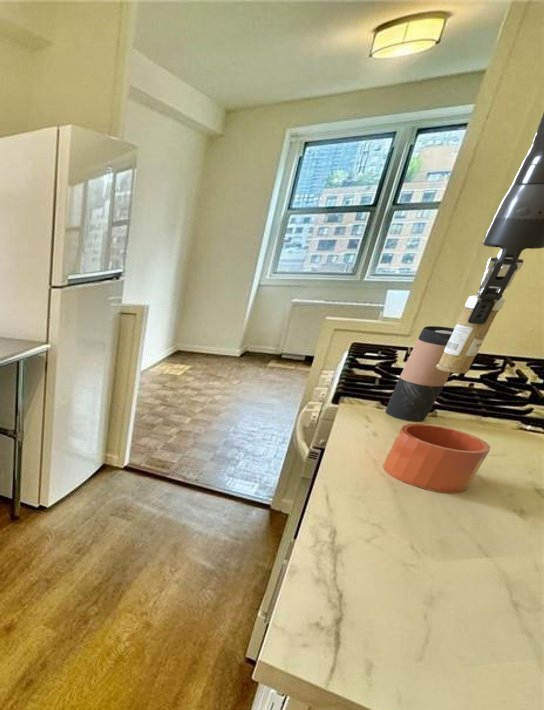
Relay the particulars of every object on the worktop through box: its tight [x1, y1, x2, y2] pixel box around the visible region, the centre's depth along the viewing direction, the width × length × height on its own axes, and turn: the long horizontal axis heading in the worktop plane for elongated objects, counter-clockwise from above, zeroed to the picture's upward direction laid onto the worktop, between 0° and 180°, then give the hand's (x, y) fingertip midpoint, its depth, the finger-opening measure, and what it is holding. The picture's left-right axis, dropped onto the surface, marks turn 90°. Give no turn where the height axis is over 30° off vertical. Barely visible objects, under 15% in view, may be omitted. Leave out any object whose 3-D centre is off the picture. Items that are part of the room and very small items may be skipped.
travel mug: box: [385, 325, 455, 422], centre depth 108 cm, size 8×8×20 cm
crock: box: [382, 423, 491, 494], centre depth 87 cm, size 12×12×8 cm
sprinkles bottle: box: [436, 294, 506, 375], centre depth 88 cm, size 5×5×14 cm
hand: (476, 320), depth 87 cm, fingers closed on sprinkles bottle, 4 cm apart
